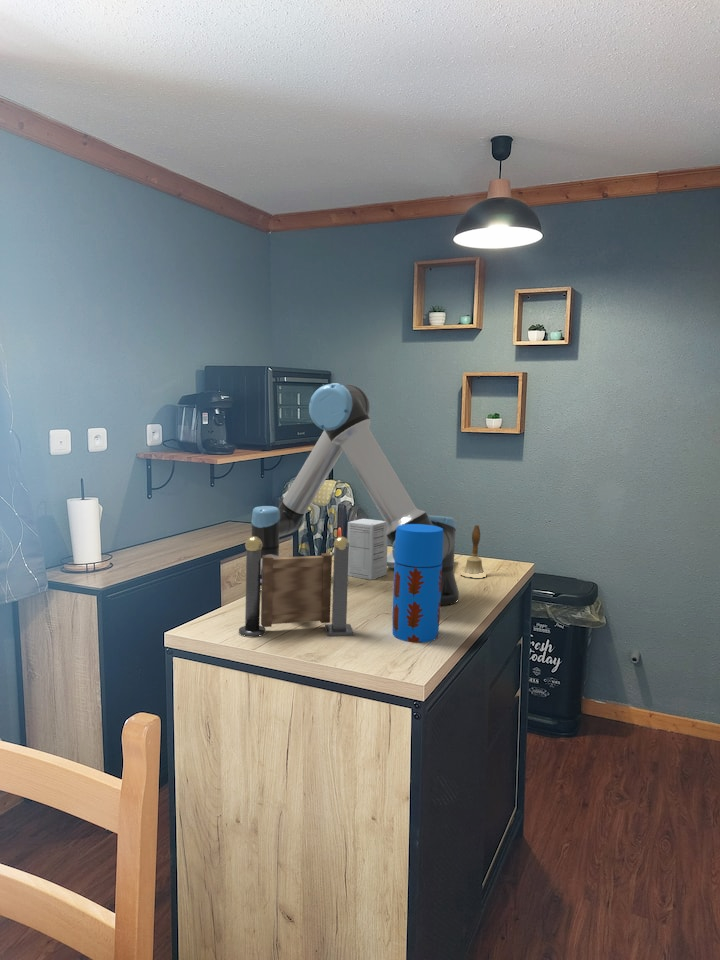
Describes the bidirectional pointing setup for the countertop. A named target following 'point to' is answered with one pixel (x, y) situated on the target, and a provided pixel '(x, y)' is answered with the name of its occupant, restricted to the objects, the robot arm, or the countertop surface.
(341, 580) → the post
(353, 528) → the supplement box
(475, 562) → the hand bell
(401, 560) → the thermos
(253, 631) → the hinge post
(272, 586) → the walnut gate
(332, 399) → the robot arm
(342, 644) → the countertop surface
